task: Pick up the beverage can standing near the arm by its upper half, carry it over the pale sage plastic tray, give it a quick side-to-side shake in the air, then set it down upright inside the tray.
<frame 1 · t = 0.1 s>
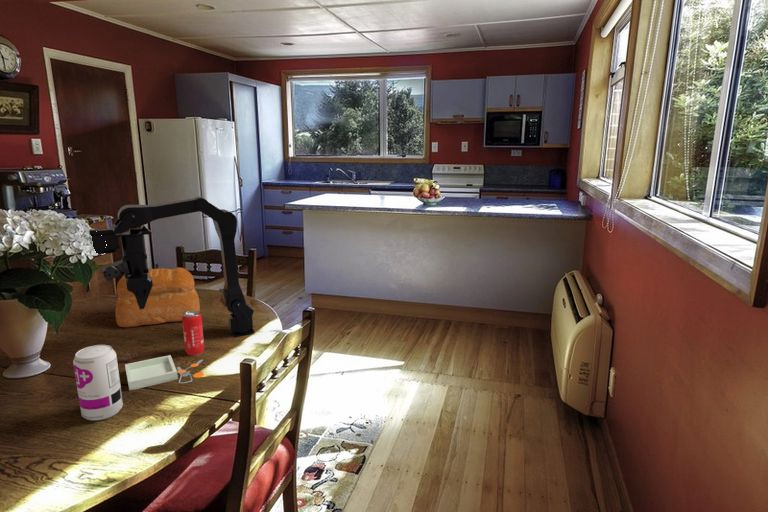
hand: (140, 304, 135), 15 cm above the table, fingers open, 9 cm apart
key chain: (190, 373, 128), on the table
beverage can: (195, 352, 139), on the table
tray: (151, 375, 125), on the table
bread: (160, 318, 165), on the table
supplement can: (102, 412, 108), on the table
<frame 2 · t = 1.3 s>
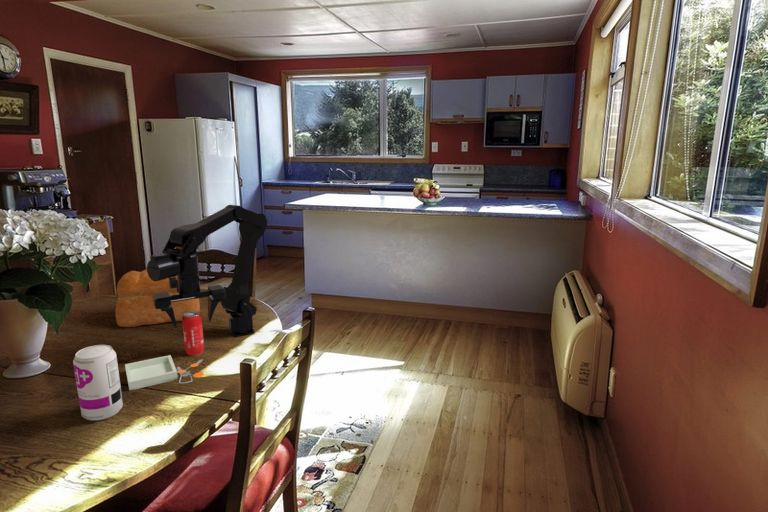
hand: (192, 324, 137), 9 cm above the table, fingers open, 9 cm apart
nothing on the table moved.
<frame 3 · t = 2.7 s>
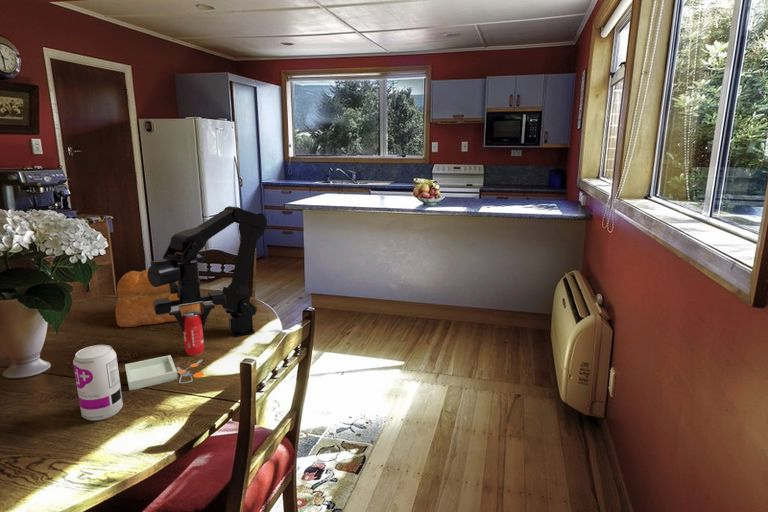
hand: (192, 329, 137), 7 cm above the table, fingers closed on beverage can, 5 cm apart
beverage can: (195, 352, 139), on the table, touching gripper
everything else where it was.
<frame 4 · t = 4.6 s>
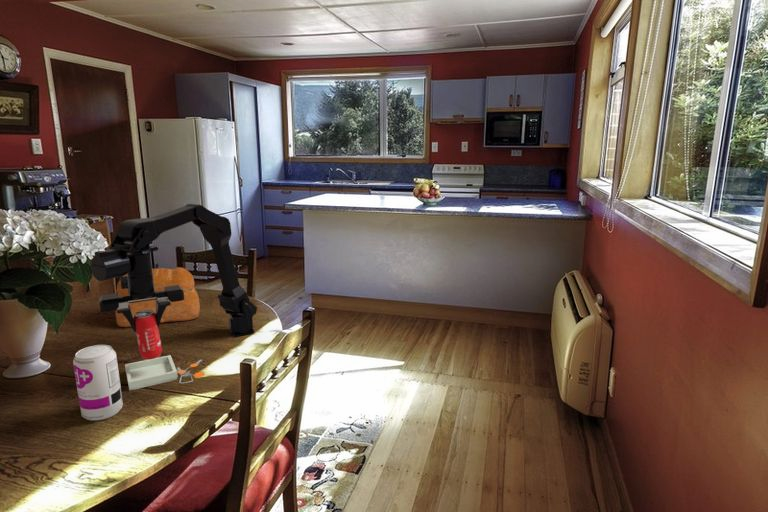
hand: (146, 329, 121), 13 cm above the table, fingers closed on beverage can, 5 cm apart
beverage can: (151, 356, 124), point 5 cm above the table, touching gripper
everything else where it was.
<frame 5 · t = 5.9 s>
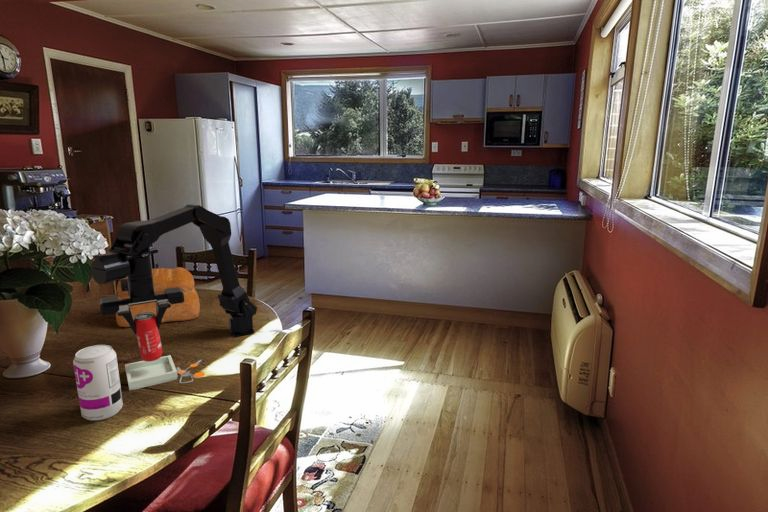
hand: (146, 331, 122), 12 cm above the table, fingers closed on beverage can, 5 cm apart
beverage can: (152, 357, 125), point 5 cm above the table, touching gripper
everything else where it was.
when the fingers open (9 cm above the table, at t = 6.8 s): beverage can stays where it is, resting on tray.
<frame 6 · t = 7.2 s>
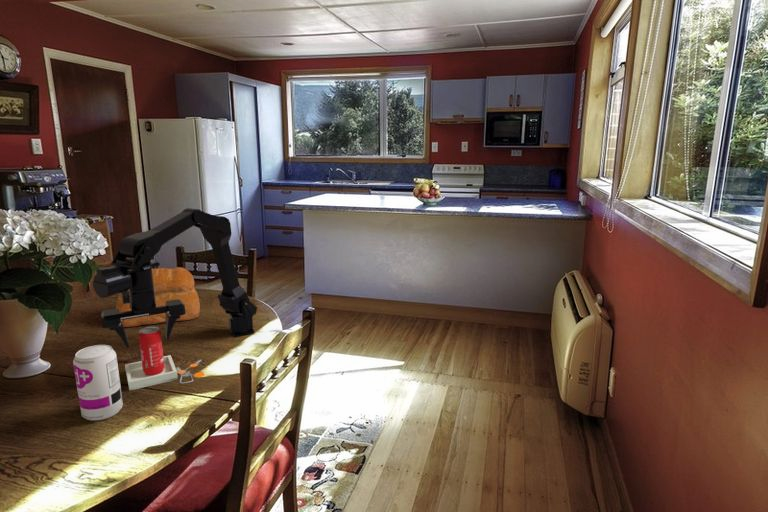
hand: (147, 343, 123), 9 cm above the table, fingers open, 9 cm apart
beverage can: (154, 372, 126), resting on tray
everything else where it was.
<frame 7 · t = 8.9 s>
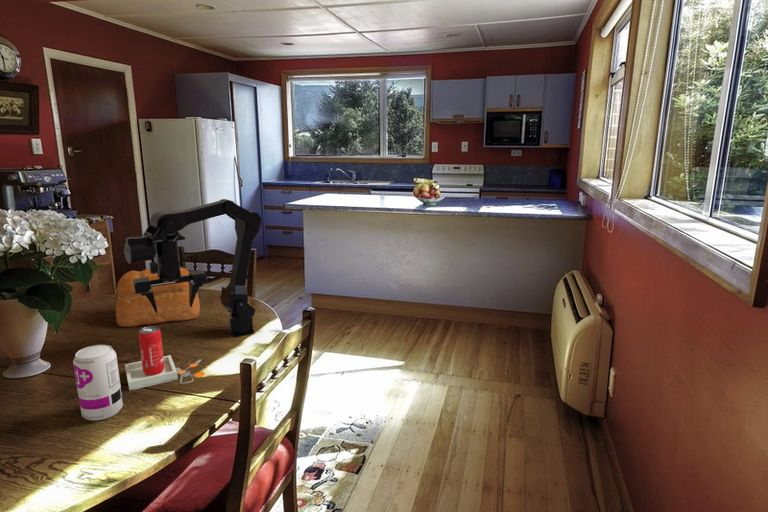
hand: (173, 309, 136), 13 cm above the table, fingers open, 9 cm apart
nothing on the table moved.
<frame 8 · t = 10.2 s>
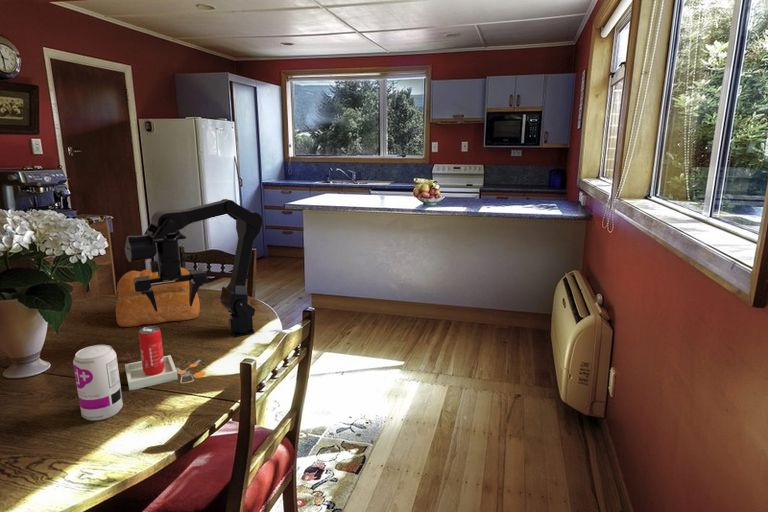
hand: (173, 308, 137), 13 cm above the table, fingers open, 9 cm apart
nothing on the table moved.
at the end: beverage can inside the target area on the tray (0.9 cm from its centre), point 0.4 cm above the tray's base; beverage can tilted 0°; the gripper is holding nothing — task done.
